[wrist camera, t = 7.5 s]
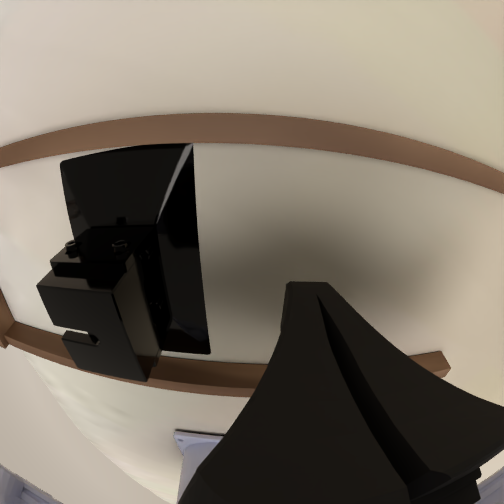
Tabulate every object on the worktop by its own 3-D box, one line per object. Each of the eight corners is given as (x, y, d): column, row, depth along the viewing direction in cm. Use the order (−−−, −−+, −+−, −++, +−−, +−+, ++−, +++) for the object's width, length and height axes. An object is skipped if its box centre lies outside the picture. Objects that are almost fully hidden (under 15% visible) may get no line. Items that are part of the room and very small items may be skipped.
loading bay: (435, 359, 13) (465, 420, 9) (10, 326, 13) (-23, 374, 8) (509, 176, 8) (583, 217, 3) (-38, 163, 7) (-98, 194, 3)
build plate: (53, 127, 8) (-31, 147, 4) (224, 97, 8) (195, 73, 4) (111, 353, 14) (83, 416, 9) (234, 366, 13) (229, 443, 9)
